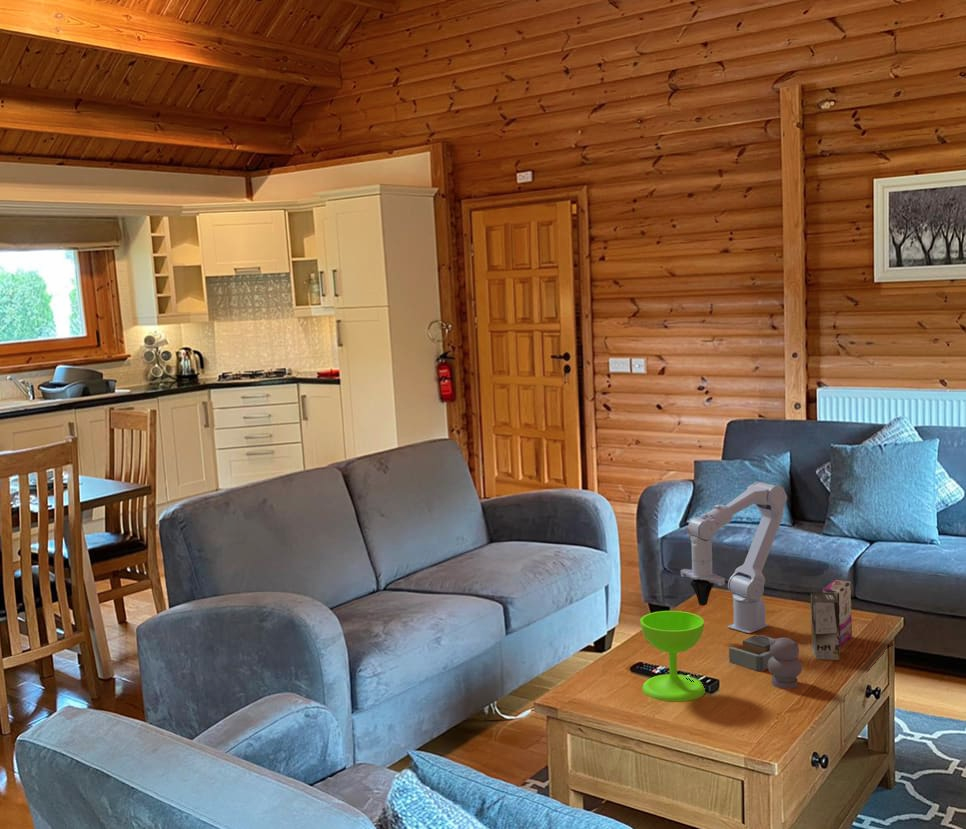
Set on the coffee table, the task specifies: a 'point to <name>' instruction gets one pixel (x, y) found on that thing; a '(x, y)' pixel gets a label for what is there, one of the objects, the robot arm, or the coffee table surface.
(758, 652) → the brown block
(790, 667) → the grey stacked figurine
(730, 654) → the bay
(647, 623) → the wineglass
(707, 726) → the coffee table surface
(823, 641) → the coffee box
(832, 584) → the candy bar box
